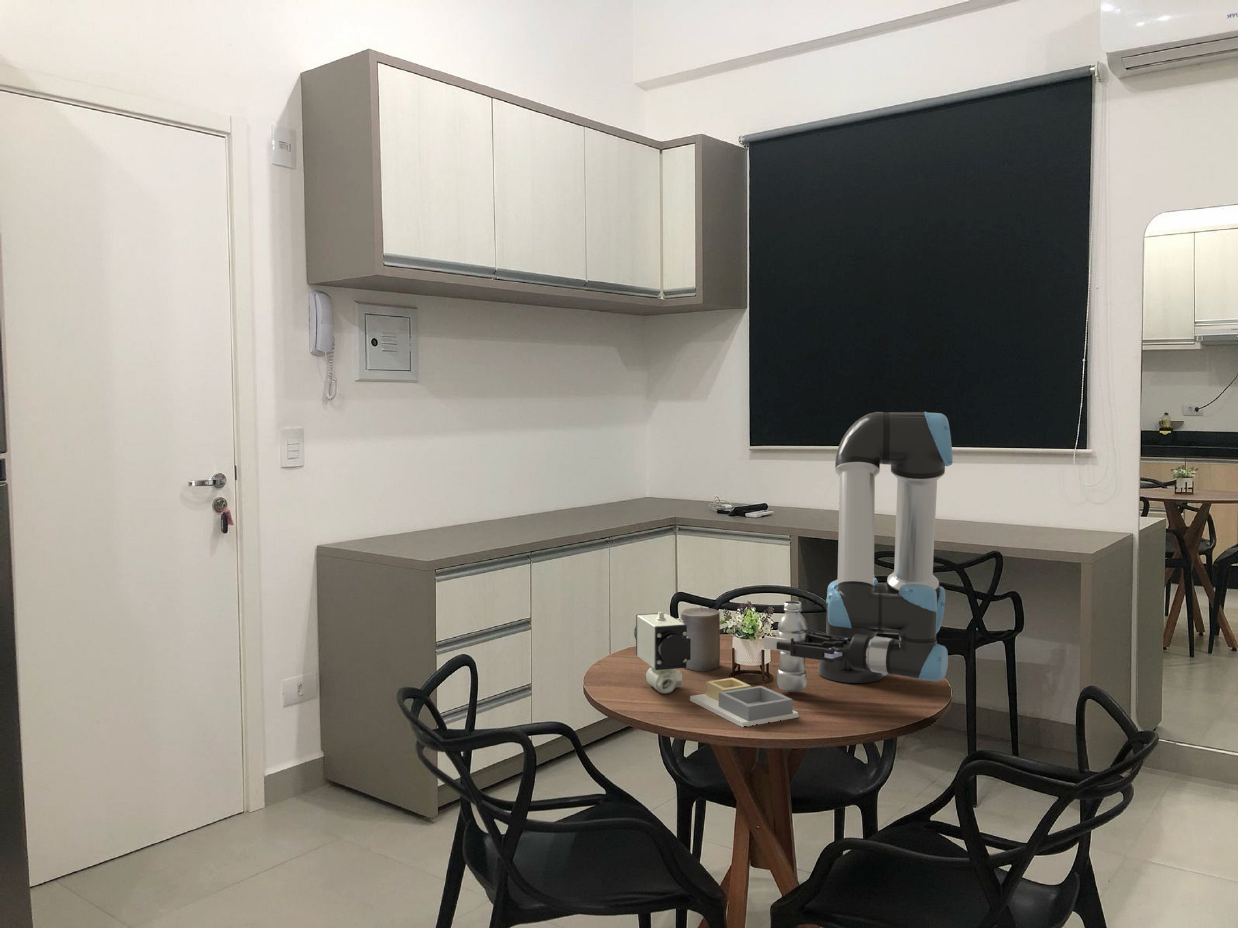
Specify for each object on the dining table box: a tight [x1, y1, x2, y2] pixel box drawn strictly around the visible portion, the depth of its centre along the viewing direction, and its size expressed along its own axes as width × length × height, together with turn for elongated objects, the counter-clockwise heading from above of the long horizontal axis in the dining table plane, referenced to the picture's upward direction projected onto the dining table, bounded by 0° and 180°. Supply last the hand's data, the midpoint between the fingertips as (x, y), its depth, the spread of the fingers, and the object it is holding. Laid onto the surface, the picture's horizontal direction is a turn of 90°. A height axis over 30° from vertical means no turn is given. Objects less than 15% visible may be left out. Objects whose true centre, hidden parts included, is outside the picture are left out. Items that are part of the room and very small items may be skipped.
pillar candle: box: [680, 607, 721, 672], centre depth 243 cm, size 10×10×15 cm
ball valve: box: [633, 611, 691, 695], centre depth 223 cm, size 18×8×18 cm, turn 18°
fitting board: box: [689, 677, 799, 728], centre depth 210 cm, size 14×20×4 cm
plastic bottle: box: [776, 600, 809, 692], centre depth 220 cm, size 6×7×20 cm
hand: (771, 639), depth 223 cm, fingers closed on plastic bottle, 6 cm apart
